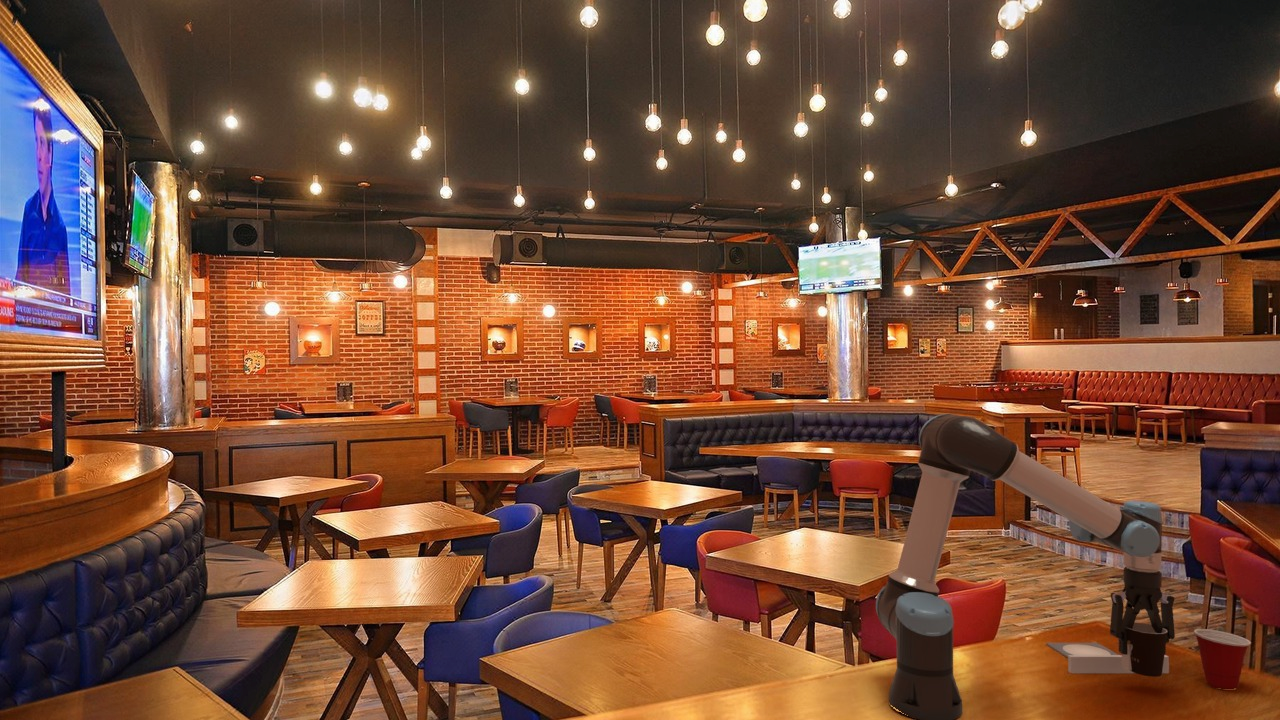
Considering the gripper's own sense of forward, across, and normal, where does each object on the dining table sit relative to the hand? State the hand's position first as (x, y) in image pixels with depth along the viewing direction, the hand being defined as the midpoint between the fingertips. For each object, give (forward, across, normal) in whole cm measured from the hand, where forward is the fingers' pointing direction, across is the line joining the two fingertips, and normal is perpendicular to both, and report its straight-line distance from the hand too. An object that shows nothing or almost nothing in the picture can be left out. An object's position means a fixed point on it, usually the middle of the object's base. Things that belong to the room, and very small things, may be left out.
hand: (1141, 668), depth 185 cm
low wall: (+5, +1, +10) cm, 11 cm away
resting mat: (+5, +1, +24) cm, 24 cm away
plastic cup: (+4, +20, +1) cm, 20 cm away
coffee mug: (+1, +1, 0) cm, 1 cm away
